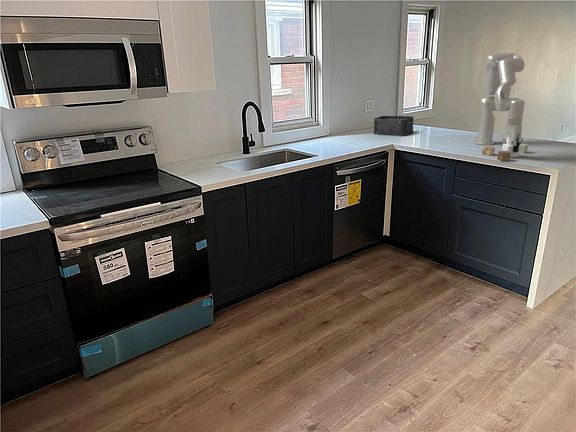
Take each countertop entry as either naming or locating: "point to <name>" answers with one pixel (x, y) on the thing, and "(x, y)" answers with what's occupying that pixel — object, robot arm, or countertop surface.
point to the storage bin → (393, 125)
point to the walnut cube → (503, 156)
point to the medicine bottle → (510, 148)
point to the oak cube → (488, 150)
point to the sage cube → (523, 148)
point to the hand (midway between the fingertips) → (510, 150)
